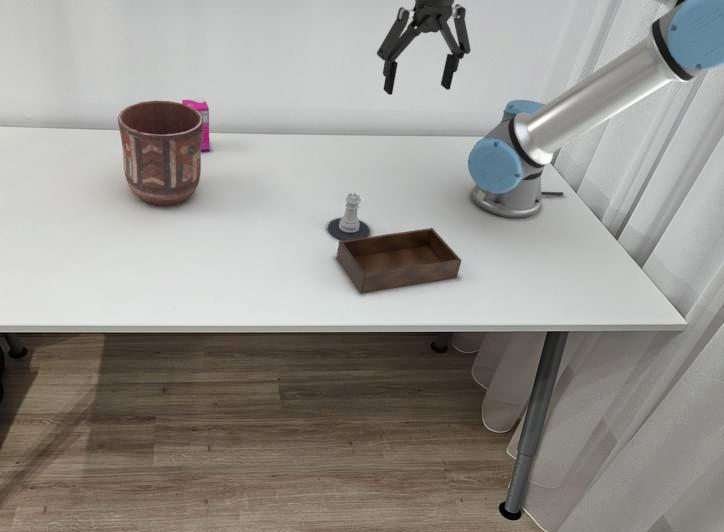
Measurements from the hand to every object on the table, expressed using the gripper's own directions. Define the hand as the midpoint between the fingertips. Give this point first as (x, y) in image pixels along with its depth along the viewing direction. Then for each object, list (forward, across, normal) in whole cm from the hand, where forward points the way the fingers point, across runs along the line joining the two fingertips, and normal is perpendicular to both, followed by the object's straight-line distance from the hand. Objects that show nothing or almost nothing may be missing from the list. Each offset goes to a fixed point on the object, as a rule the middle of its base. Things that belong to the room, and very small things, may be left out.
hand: (416, 89), depth 154 cm
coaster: (+25, -17, -12) cm, 33 cm away
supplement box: (+25, -40, +32) cm, 57 cm away
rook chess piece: (+24, -17, -12) cm, 32 cm away
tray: (+25, -14, -28) cm, 39 cm away
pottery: (+25, -53, +12) cm, 60 cm away
